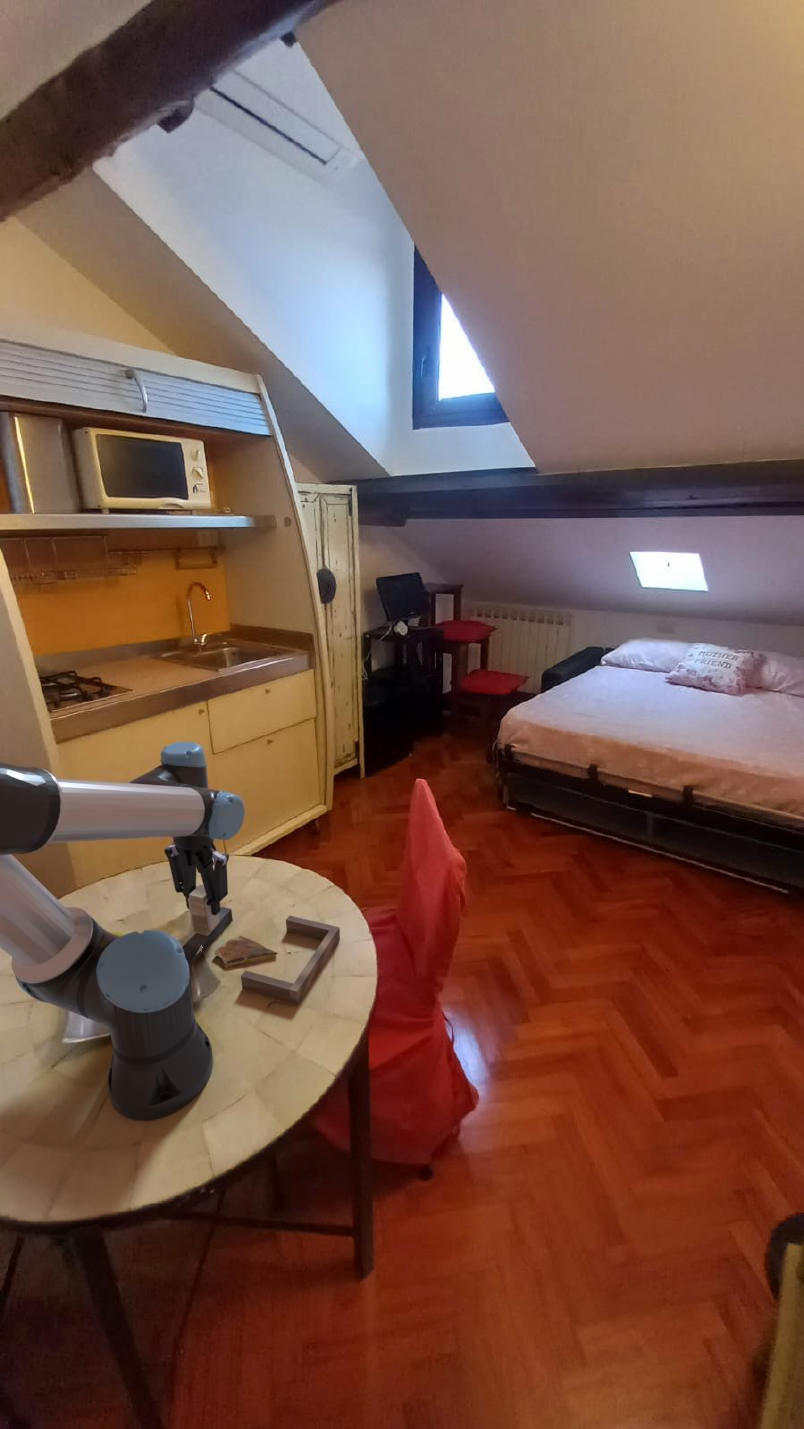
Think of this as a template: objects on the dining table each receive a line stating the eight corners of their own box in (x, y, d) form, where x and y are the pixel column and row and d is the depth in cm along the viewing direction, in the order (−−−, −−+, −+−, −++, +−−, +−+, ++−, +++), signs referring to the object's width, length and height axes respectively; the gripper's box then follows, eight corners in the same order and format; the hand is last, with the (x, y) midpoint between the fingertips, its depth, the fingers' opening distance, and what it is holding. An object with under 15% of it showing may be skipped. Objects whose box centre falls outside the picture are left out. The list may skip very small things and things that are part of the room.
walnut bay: (298, 1005, 106) (297, 991, 105) (242, 989, 109) (240, 976, 108) (340, 939, 122) (339, 927, 121) (290, 927, 125) (289, 915, 124)
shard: (278, 958, 117) (277, 951, 117) (250, 984, 111) (249, 976, 111) (239, 939, 123) (238, 931, 122) (210, 962, 117) (209, 954, 116)
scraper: (192, 966, 115) (185, 914, 111) (179, 962, 116) (171, 910, 112) (234, 920, 127) (228, 873, 124) (221, 917, 128) (215, 870, 125)
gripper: (240, 819, 113) (250, 920, 121) (169, 806, 118) (184, 904, 126) (216, 838, 107) (229, 945, 115) (142, 824, 112) (160, 927, 120)
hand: (205, 923), depth 120 cm, fingers closed on scraper, 3 cm apart
